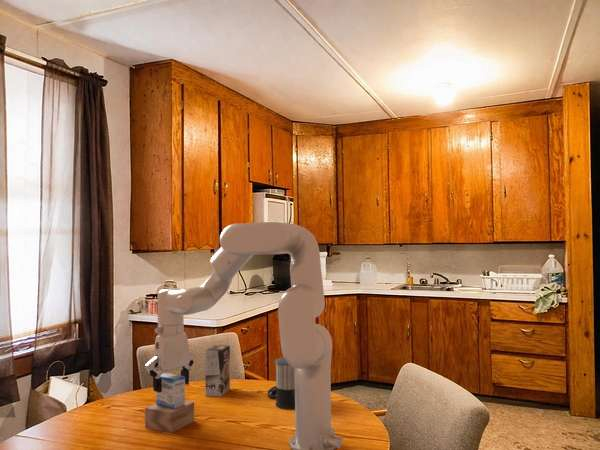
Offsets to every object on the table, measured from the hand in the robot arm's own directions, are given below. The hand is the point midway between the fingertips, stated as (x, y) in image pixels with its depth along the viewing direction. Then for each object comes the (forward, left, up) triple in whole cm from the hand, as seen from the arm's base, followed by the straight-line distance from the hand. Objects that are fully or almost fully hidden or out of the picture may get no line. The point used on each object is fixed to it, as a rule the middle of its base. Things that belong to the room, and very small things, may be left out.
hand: (171, 387), depth 141 cm
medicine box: (0, 0, -5) cm, 5 cm away
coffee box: (+12, -29, -11) cm, 33 cm away
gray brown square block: (0, 0, -11) cm, 11 cm away
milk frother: (-13, -36, -11) cm, 40 cm away
